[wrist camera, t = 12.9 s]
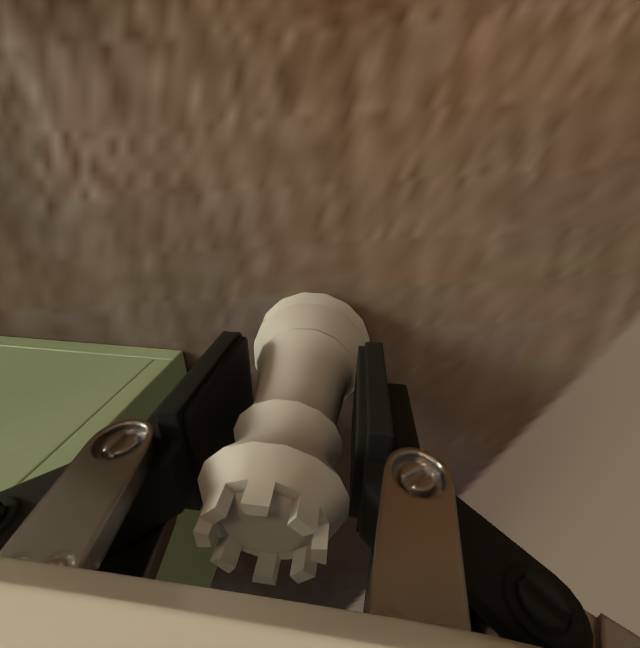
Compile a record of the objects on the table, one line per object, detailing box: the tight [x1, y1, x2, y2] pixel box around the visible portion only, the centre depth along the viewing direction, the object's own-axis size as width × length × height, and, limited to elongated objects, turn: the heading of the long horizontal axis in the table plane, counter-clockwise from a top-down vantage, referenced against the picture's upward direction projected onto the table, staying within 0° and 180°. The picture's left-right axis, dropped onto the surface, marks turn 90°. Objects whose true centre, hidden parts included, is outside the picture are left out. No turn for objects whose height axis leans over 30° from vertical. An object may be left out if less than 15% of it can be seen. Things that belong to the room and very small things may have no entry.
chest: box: [0, 336, 219, 588], centre depth 14 cm, size 16×13×8 cm
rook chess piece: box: [193, 292, 370, 585], centre depth 9 cm, size 4×4×8 cm
